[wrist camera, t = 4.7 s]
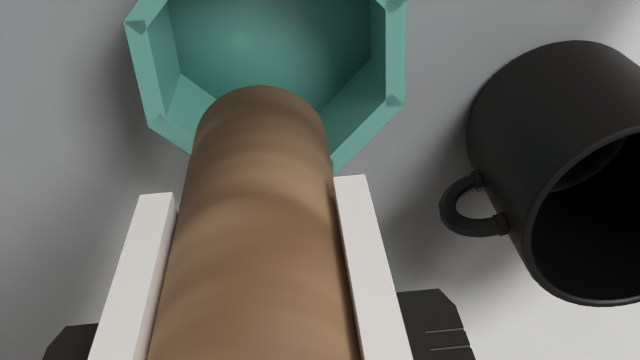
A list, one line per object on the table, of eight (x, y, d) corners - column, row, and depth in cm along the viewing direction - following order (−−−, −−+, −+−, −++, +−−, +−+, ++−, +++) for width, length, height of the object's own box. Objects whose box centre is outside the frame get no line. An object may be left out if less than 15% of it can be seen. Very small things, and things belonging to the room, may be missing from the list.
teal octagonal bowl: (179, 131, 31) (162, 190, 27) (133, -92, 26) (101, -68, 21) (385, 114, 32) (404, 169, 27) (384, -111, 26) (408, -91, 21)
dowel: (206, 206, 20) (139, 648, 9) (183, 91, 17) (64, 503, 7) (330, 195, 20) (397, 619, 10) (323, 79, 18) (398, 467, 7)
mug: (397, 91, 31) (437, 189, 23) (635, 9, 29) (762, 84, 22) (439, 230, 36) (484, 348, 28) (646, 165, 34) (752, 271, 27)
